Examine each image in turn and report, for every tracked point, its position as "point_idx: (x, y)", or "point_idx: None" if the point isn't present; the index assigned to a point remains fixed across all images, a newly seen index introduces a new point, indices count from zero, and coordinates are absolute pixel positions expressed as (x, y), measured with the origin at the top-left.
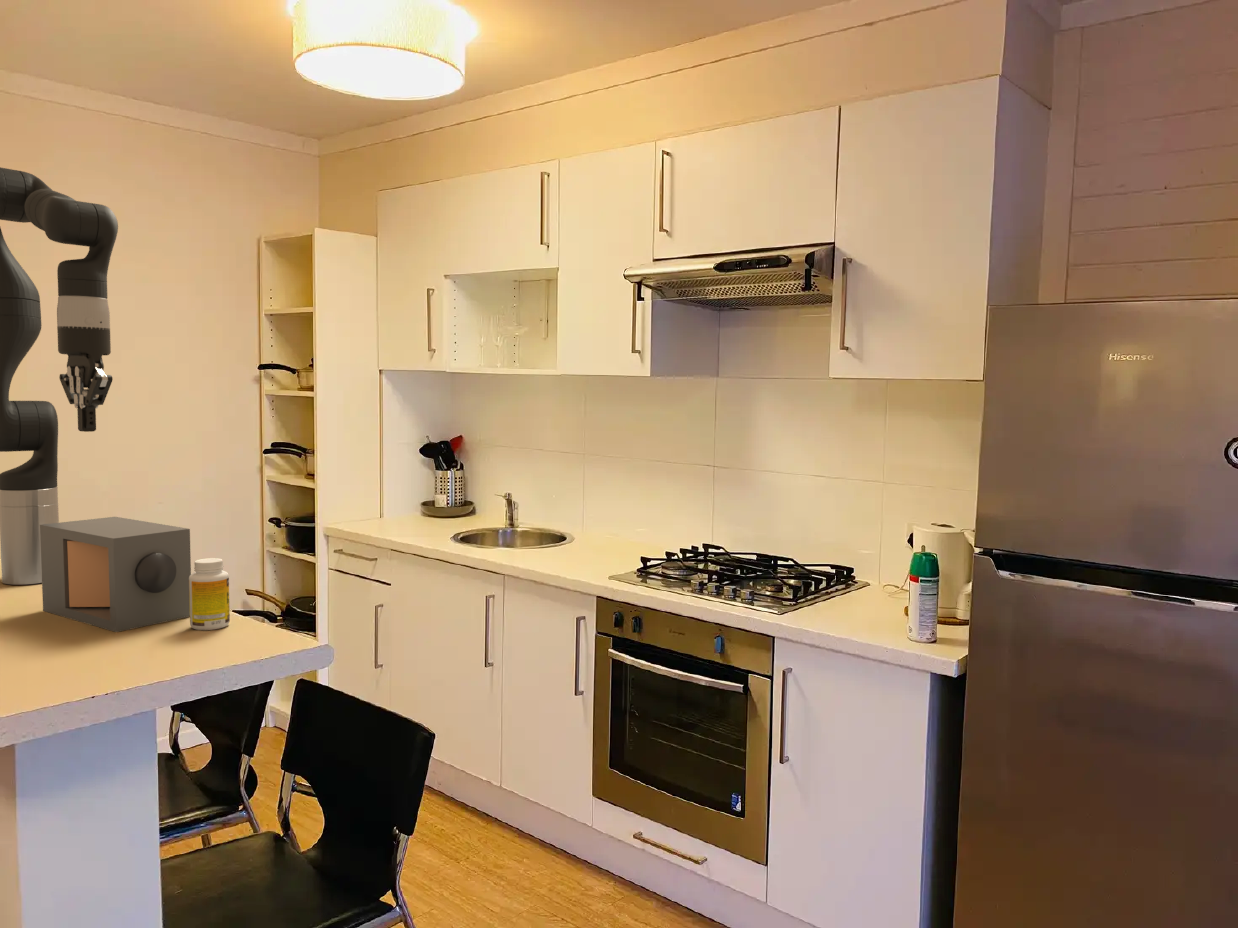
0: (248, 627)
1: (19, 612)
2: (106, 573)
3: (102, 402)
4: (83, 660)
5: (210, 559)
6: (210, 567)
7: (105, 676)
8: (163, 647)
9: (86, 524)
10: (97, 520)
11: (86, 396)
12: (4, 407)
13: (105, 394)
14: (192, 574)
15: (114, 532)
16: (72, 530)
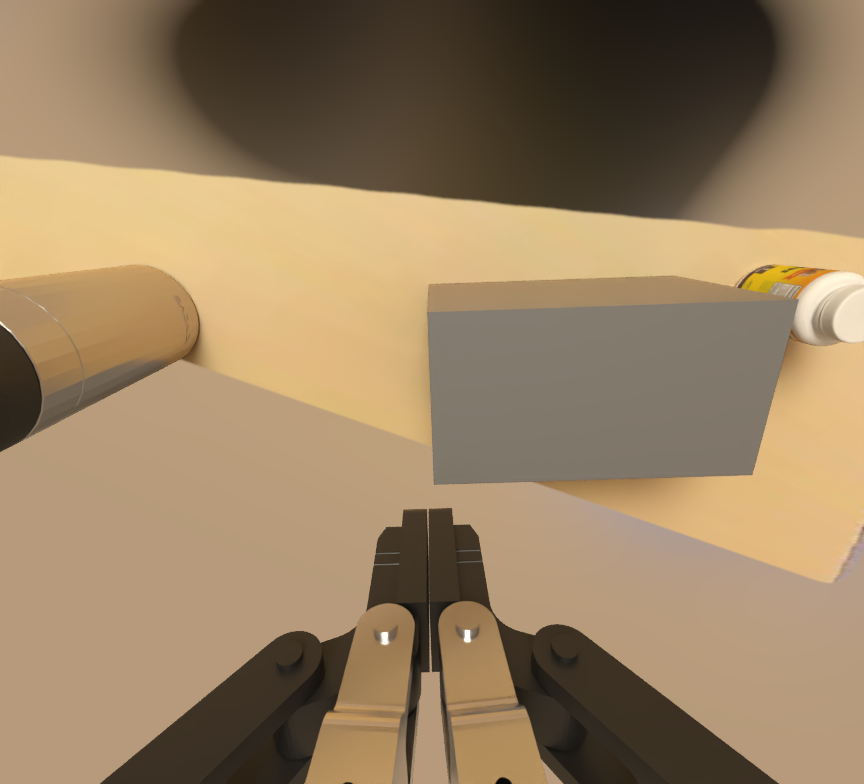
0: (823, 257)
1: (415, 431)
2: None
3: (593, 650)
4: (737, 482)
5: (858, 307)
6: None
7: (818, 494)
8: (784, 399)
9: (512, 422)
10: (464, 376)
11: (564, 778)
12: None
13: (684, 723)
14: (817, 339)
15: (681, 438)
16: (575, 477)
